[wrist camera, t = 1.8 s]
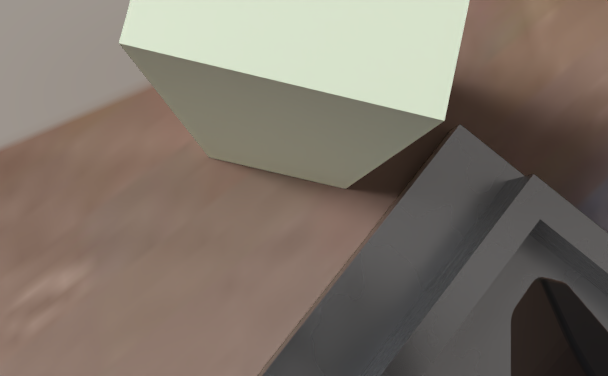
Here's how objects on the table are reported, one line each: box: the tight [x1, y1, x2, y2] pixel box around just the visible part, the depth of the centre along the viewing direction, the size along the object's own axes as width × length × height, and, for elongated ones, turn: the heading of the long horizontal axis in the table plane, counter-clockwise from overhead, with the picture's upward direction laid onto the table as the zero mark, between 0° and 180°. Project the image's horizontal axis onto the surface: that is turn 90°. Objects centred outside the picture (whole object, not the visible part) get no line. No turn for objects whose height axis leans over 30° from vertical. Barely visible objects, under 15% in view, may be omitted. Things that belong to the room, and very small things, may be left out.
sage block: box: [119, 0, 469, 189], centre depth 15 cm, size 5×5×12 cm
